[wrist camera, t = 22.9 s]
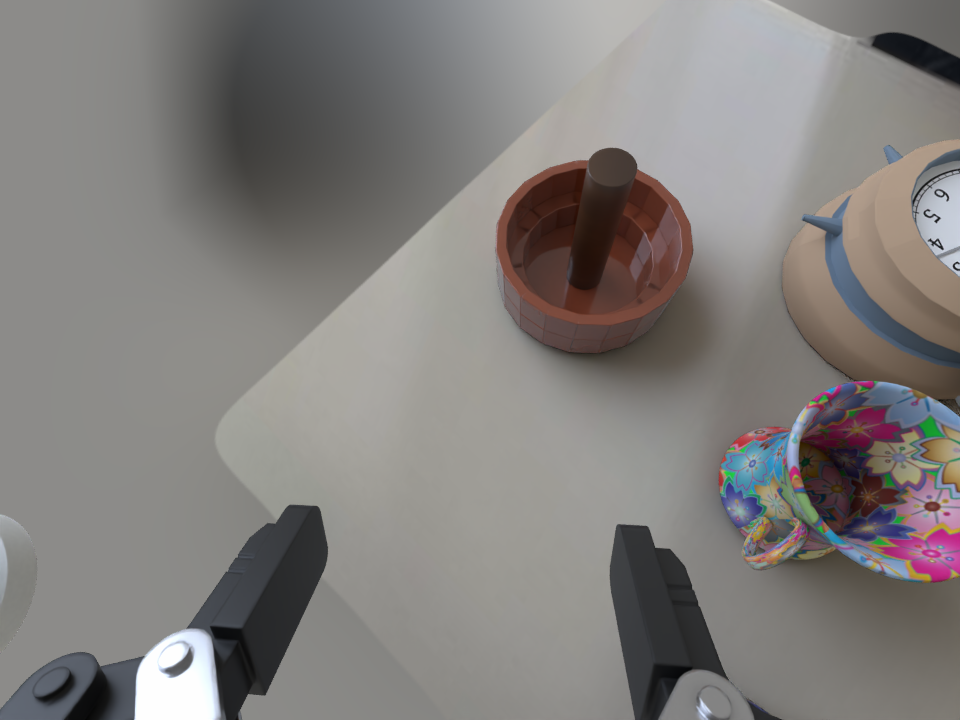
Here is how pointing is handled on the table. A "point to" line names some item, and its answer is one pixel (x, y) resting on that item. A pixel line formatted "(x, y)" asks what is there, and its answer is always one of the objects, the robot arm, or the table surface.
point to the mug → (852, 484)
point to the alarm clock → (886, 274)
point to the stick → (599, 214)
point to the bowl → (628, 272)
